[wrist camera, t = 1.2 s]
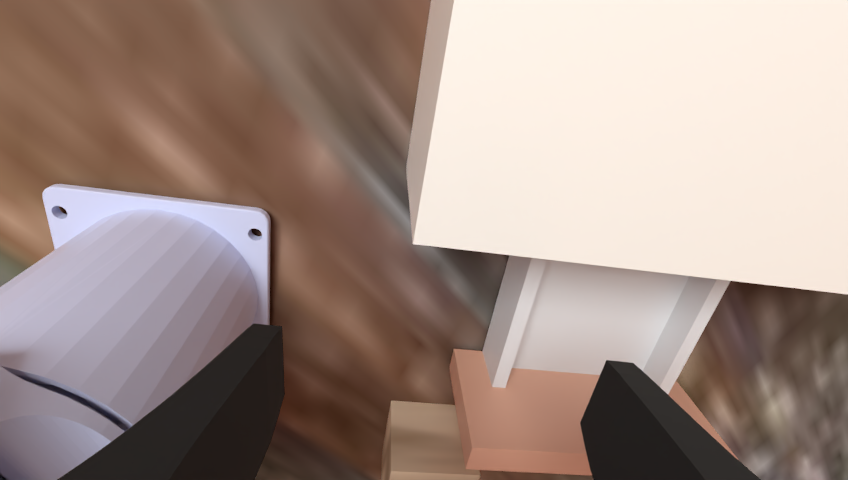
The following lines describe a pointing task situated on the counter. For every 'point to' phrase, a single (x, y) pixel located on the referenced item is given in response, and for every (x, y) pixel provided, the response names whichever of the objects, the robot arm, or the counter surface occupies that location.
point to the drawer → (570, 357)
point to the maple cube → (423, 444)
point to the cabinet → (638, 136)
